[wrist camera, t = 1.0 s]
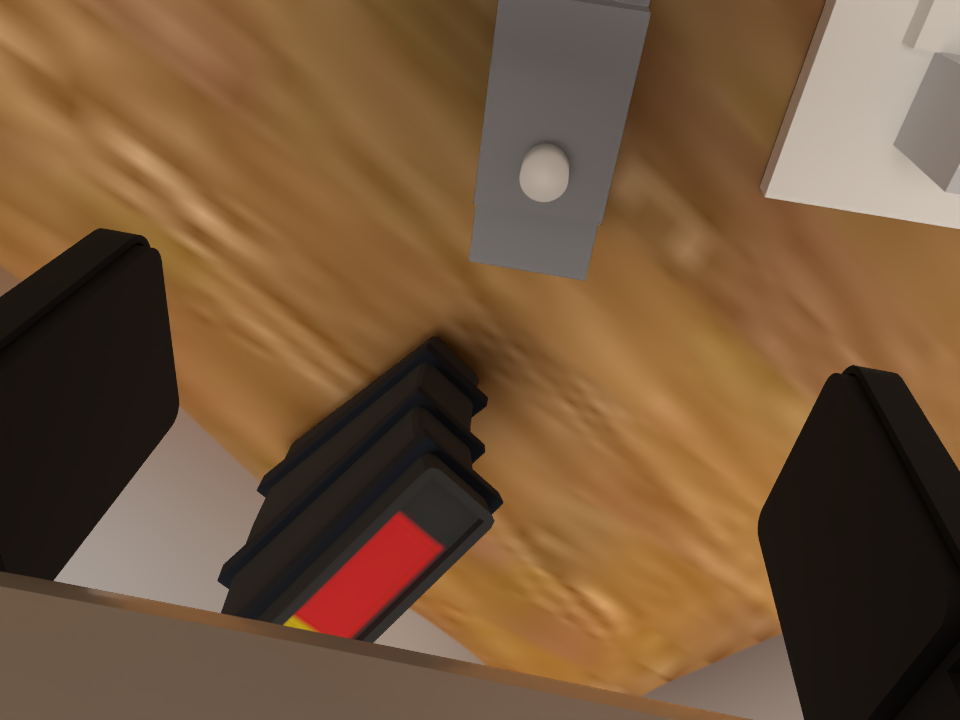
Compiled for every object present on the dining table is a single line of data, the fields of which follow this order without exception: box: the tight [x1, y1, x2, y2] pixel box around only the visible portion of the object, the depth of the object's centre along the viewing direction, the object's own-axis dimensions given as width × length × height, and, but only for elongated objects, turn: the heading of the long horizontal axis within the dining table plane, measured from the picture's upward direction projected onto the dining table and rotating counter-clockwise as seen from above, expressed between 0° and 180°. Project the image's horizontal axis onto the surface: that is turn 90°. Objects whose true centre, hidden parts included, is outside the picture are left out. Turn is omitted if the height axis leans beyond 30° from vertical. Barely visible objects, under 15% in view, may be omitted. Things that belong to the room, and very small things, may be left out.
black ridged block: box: [218, 337, 503, 643], centre depth 31 cm, size 4×13×15 cm, turn 133°
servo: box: [469, 0, 651, 281], centre depth 23 cm, size 11×4×7 cm, turn 173°
